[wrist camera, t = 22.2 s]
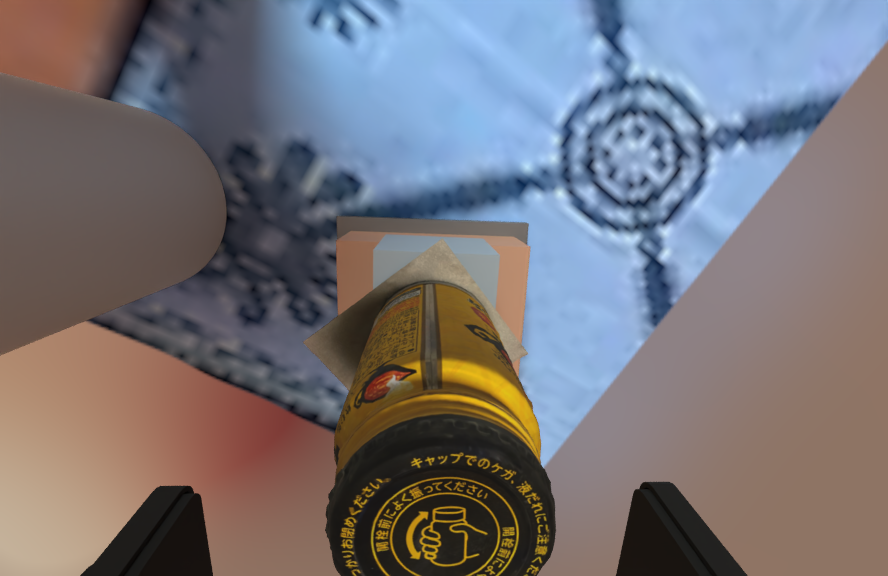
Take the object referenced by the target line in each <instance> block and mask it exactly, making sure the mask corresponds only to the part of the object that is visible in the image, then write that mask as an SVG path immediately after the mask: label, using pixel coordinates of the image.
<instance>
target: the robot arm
mask: <svg viewBox="0 0 888 576" xmlns="http://www.w3.org/2000/svg"><path fill="white" fill-rule="evenodd" d="M80 576H213V572H212V566H211V559H210V553H209V547H208V540H207V533H206V527H205V520H204V514H203V507H202V500H201V496H200V495H199V494H197V493H195V494H194V491H193V489H192V487H191V486H160V487H158V488H156V489H155V490H154V491H153V492H152V493H151V494H150V496H149V497H148V498H147V499H146V501H145V502H144V503H143V504H142V505H141V507H140V508H139V509H138V510H137V512H136V513H135V514H134V515H133V516H132V518H131V519H130V520H129V521H128V522H127V524H126V525H125V526H124V527H123V529H122V530H121V531H120V532H119V533H118V535H117V536H116V537H115V538H114V540H113V541H112V542H111V543H110V544H109V546H108V547H107V548H106V549H105V550H104V552H103V553H102V554H101V555H100V557H99V558H98V559H97V560H96V561H95V563H94V564H93V565H91V566H90V567H88V568H87V569H86V570H85V571H84V572H83V573H82V574H81V575H80ZM616 576H747V574H746V573H745V572H744V571H743V570H742V568H741V567H740V566H739V565H738V563H737V562H736V561H735V560H734V558H733V557H732V556H731V555H730V553H729V552H728V551H727V550H726V548H725V547H724V546H723V545H722V543H721V542H720V541H719V540H718V538H717V537H716V536H715V535H714V534H713V532H712V531H711V530H710V528H709V527H708V526H707V525H706V523H705V522H704V521H703V520H702V519H701V517H700V516H699V515H698V514H697V512H696V511H695V510H694V509H693V507H692V506H691V505H690V504H689V502H688V501H687V500H686V499H685V497H684V496H683V495H682V494H681V492H680V491H679V490H678V489H677V487H676V486H675V485H674V484H673V483H670V482H643V483H642V484H641V486H640V489H636V490H635V491H634V493H633V498H632V502H631V507H630V512H629V517H628V521H627V526H626V531H625V536H624V540H623V545H622V550H621V555H620V559H619V564H618V569H617V574H616Z"/></svg>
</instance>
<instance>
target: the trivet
mask: <svg viewBox="0 0 888 576" xmlns="http://www.w3.org/2000/svg"><path fill="white" fill-rule="evenodd" d="M350 231H366V232H395V233H423V234H451V235H479V236H508V237H515V238H517V239H518V240H520V241H522V242H523V243H525V244H526V245H527V235H528V223H526V222H499V221H472V220H445V219H419V218H392V217H365V216H337V239H339V238H341V237H342V236H344V235H345V234H347V233H348V232H350Z"/></svg>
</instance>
